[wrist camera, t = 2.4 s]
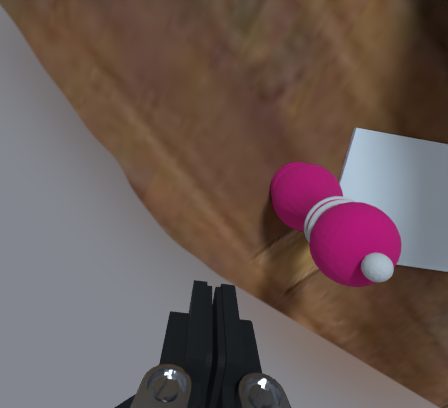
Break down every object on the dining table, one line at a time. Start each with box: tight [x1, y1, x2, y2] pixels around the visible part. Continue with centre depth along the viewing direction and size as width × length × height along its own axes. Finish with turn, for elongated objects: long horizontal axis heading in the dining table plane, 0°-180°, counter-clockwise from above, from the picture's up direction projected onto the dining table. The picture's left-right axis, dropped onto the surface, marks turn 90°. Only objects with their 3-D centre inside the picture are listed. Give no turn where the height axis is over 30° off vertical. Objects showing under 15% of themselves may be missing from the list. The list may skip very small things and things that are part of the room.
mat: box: [338, 128, 448, 272], centre depth 37 cm, size 16×20×1 cm
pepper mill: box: [270, 162, 402, 287], centre depth 27 cm, size 7×7×20 cm
